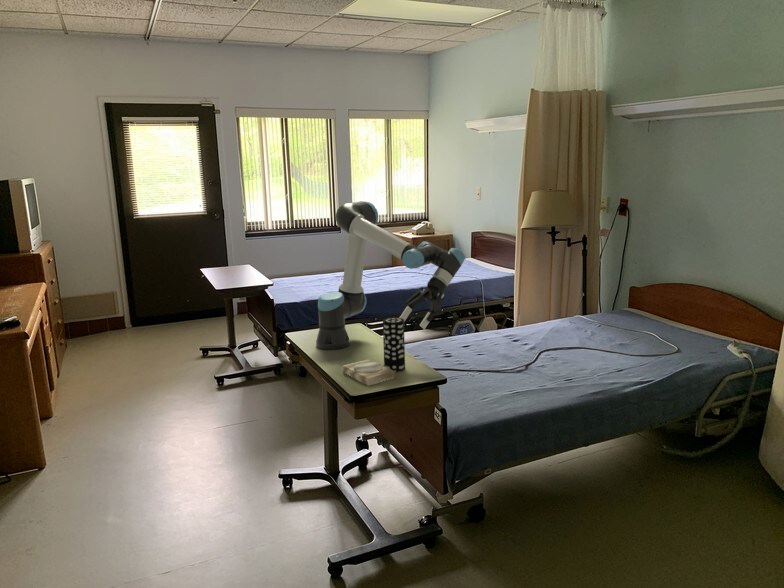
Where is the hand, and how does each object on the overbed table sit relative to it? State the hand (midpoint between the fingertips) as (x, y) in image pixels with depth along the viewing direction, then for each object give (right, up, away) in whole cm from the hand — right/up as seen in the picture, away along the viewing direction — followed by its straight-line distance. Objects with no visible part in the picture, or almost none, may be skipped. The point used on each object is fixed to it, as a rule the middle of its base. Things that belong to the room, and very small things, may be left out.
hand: (411, 324), depth 235 cm
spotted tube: (-7, -18, 0) cm, 19 cm away
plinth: (-17, -20, -7) cm, 27 cm away
